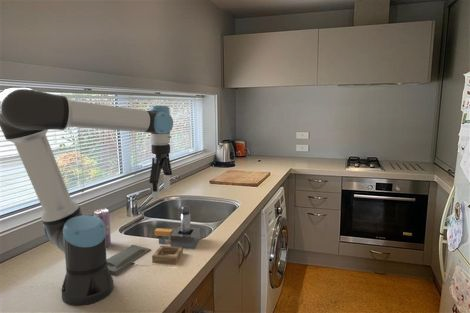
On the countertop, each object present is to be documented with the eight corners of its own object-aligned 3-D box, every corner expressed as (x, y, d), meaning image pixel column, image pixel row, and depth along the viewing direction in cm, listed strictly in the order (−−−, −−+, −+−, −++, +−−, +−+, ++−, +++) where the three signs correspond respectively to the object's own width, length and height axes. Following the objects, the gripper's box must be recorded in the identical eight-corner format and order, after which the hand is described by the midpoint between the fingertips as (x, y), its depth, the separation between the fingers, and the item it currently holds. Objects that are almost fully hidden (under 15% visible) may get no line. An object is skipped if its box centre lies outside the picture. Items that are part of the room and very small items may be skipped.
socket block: (194, 251, 133) (194, 237, 132) (156, 248, 135) (156, 234, 134) (200, 241, 143) (200, 228, 142) (165, 238, 145) (164, 225, 144)
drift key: (170, 236, 137) (170, 232, 137) (154, 235, 138) (154, 230, 138) (172, 233, 140) (172, 229, 140) (157, 232, 141) (157, 228, 141)
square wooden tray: (175, 266, 120) (175, 258, 120) (152, 264, 122) (152, 256, 121) (182, 255, 129) (182, 247, 129) (160, 253, 130) (160, 245, 130)
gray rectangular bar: (189, 245, 136) (188, 208, 134) (179, 244, 137) (179, 207, 134) (191, 241, 140) (191, 205, 138) (182, 240, 141) (182, 204, 138)
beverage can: (106, 240, 141) (104, 207, 139) (113, 244, 138) (112, 210, 135) (92, 245, 137) (90, 211, 134) (100, 249, 133) (98, 214, 131)
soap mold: (152, 253, 132) (152, 245, 131) (116, 277, 114) (115, 268, 113) (132, 248, 136) (131, 240, 135) (94, 271, 118) (93, 262, 117)
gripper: (159, 148, 120) (160, 203, 124) (178, 140, 145) (178, 187, 148) (139, 147, 121) (141, 202, 125) (162, 140, 146) (162, 186, 149)
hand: (161, 194), depth 137 cm, fingers open, 13 cm apart
